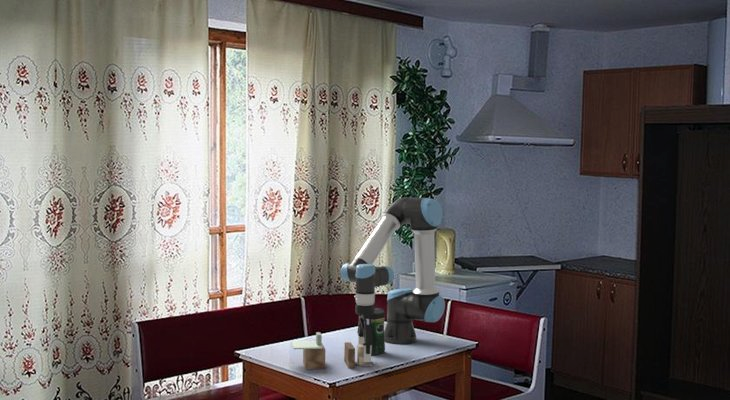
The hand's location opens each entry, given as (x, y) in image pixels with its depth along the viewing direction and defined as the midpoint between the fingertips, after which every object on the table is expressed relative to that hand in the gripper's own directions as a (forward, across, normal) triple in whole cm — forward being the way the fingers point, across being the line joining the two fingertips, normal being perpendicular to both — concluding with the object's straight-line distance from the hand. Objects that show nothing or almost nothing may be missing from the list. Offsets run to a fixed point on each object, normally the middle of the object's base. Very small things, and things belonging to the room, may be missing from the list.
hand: (364, 357), depth 311 cm
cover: (-5, 0, -23) cm, 23 cm away
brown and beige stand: (+2, 0, -14) cm, 15 cm away
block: (+2, 0, 0) cm, 2 cm away
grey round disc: (+3, 0, 0) cm, 3 cm away
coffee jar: (+3, -18, +7) cm, 19 cm away
